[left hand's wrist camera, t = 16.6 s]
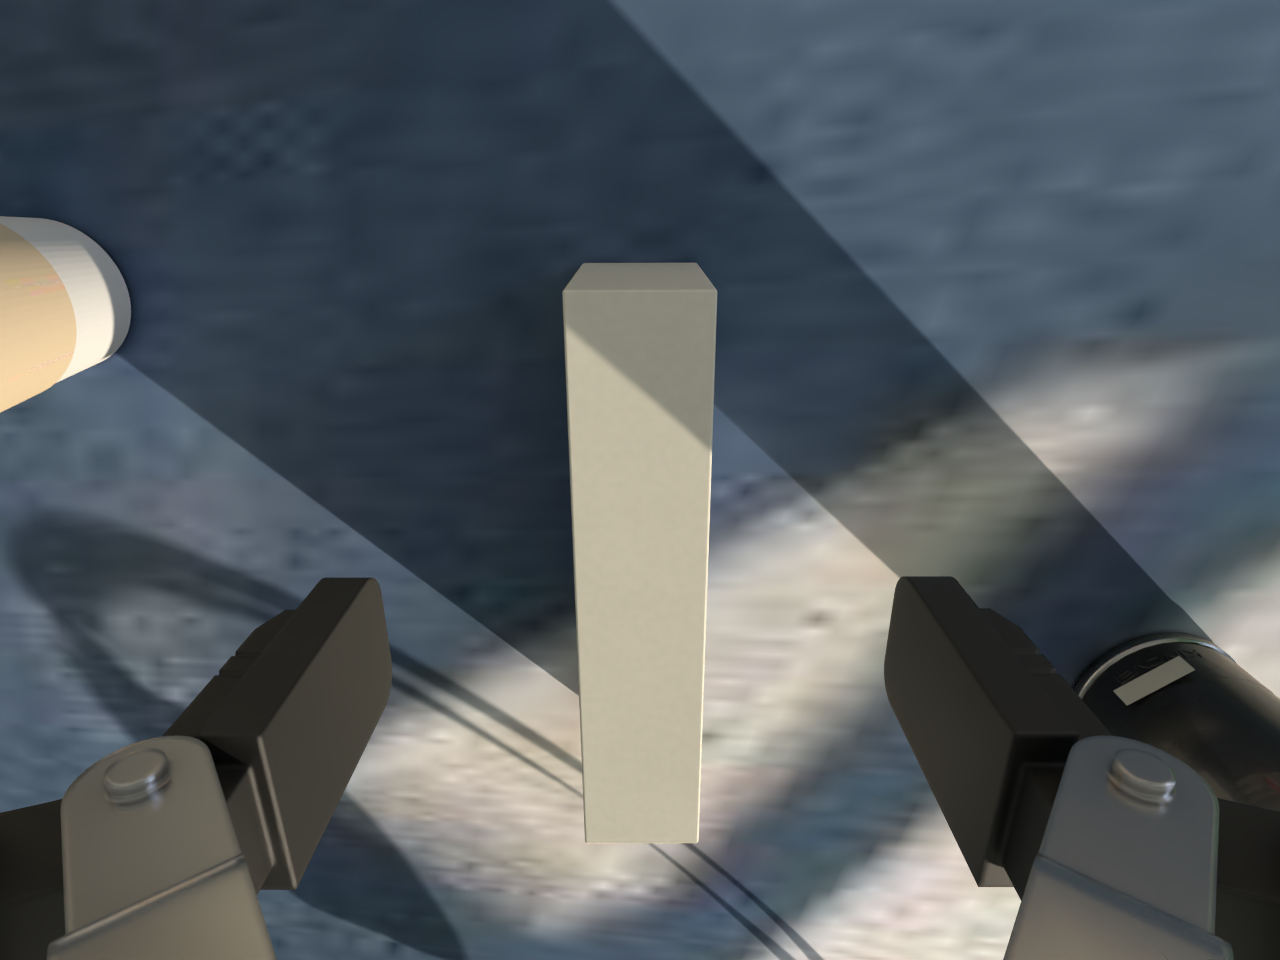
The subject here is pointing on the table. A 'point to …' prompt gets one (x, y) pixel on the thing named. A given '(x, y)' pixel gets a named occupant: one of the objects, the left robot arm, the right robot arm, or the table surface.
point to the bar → (640, 539)
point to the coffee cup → (54, 306)
